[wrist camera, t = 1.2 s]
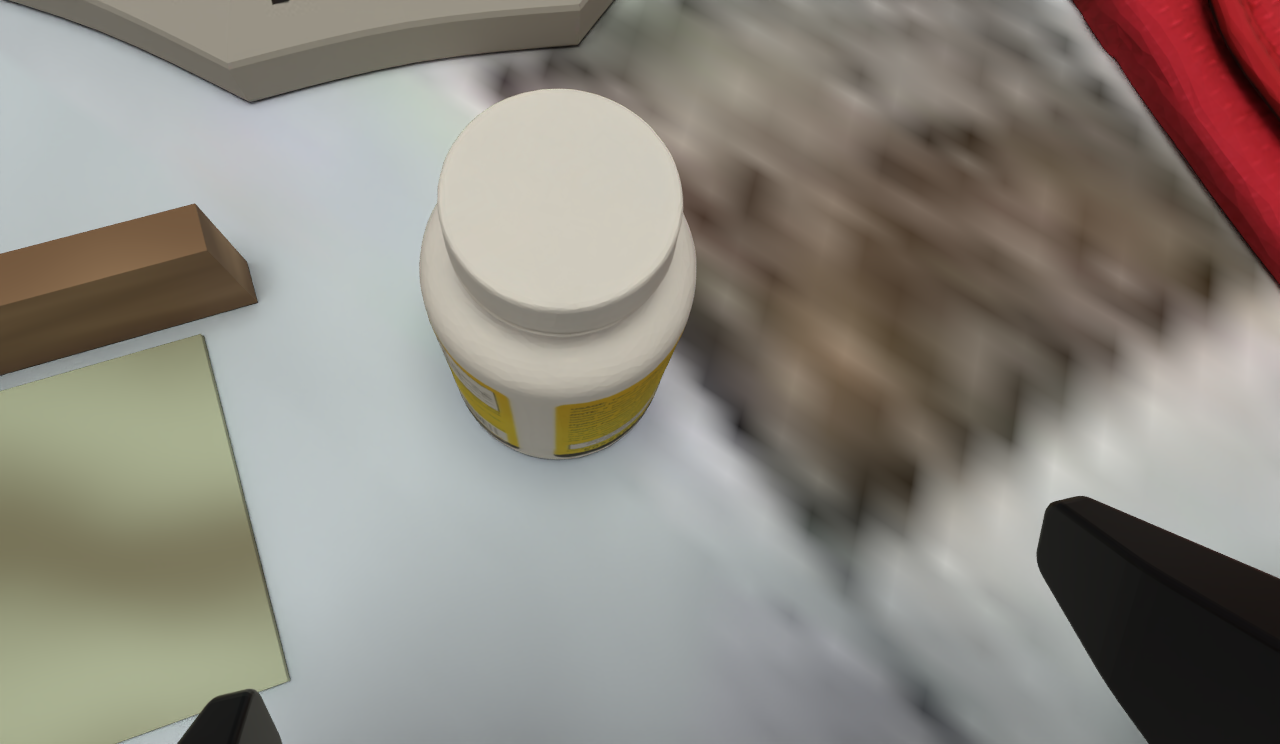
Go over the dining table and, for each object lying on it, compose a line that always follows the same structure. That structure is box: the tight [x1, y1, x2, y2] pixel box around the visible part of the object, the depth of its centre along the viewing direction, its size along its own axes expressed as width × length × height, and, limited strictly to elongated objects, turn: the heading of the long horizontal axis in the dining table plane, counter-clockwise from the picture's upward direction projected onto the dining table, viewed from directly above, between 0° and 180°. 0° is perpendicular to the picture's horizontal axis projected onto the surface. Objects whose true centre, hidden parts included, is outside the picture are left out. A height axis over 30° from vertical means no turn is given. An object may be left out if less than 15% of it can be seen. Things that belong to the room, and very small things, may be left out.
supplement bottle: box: [419, 89, 696, 459], centre depth 19 cm, size 5×5×10 cm
